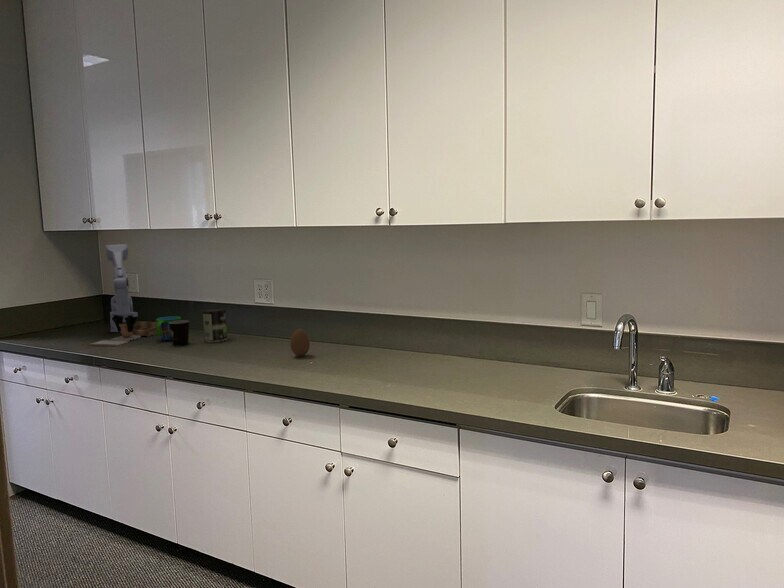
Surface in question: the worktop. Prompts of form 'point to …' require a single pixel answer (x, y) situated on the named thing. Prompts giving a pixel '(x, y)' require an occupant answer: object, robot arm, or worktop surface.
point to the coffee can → (214, 325)
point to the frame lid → (109, 343)
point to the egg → (300, 342)
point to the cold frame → (144, 328)
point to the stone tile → (126, 337)
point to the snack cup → (165, 326)
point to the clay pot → (125, 330)
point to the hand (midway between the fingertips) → (125, 331)
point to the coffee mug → (179, 332)
